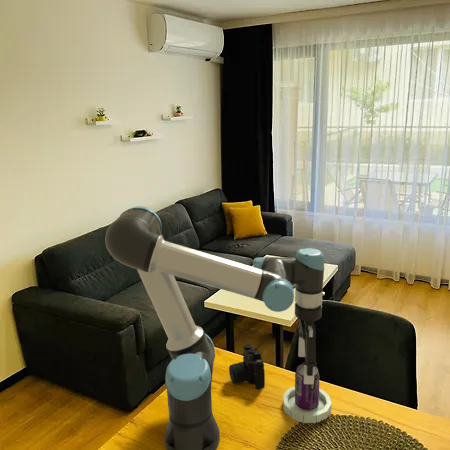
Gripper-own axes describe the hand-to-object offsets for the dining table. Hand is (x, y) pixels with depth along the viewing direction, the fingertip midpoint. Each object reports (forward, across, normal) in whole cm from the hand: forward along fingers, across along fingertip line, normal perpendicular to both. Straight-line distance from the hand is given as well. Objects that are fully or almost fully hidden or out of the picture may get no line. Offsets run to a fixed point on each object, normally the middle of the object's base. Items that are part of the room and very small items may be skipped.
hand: (305, 369), depth 128 cm
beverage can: (+12, 0, -1) cm, 12 cm away
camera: (+14, +14, +18) cm, 26 cm away
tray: (+13, 0, -1) cm, 13 cm away
